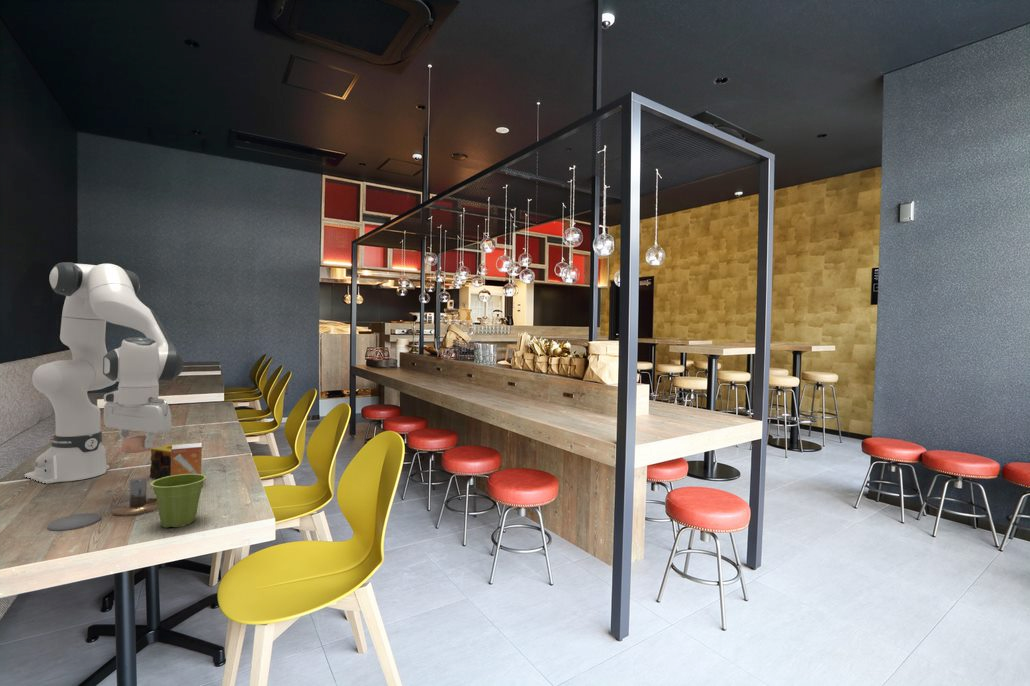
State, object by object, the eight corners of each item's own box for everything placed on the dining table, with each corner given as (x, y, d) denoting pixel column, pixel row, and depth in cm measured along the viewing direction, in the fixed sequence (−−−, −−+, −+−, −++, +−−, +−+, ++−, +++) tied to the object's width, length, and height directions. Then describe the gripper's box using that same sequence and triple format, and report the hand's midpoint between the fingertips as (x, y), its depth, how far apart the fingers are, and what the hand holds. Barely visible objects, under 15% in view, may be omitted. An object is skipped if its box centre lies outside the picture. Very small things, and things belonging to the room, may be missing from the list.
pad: (37, 527, 118) (37, 525, 118) (82, 513, 127) (82, 511, 127) (66, 533, 115) (66, 530, 115) (110, 517, 125) (110, 515, 125)
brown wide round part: (101, 513, 128) (101, 483, 128) (142, 499, 138) (142, 472, 138) (132, 518, 125) (133, 488, 125) (172, 504, 136) (172, 476, 136)
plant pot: (216, 516, 128) (217, 475, 127) (176, 534, 116) (176, 489, 116) (180, 512, 130) (181, 471, 130) (137, 529, 119) (138, 484, 119)
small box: (170, 491, 147) (170, 449, 146) (171, 485, 152) (171, 444, 152) (201, 487, 151) (202, 446, 151) (201, 481, 156) (202, 442, 156)
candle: (170, 482, 155) (170, 451, 155) (148, 478, 158) (148, 448, 158) (199, 473, 165) (200, 445, 164) (178, 470, 168) (179, 442, 168)
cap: (144, 445, 136) (145, 430, 136) (161, 447, 135) (161, 432, 135) (111, 453, 128) (111, 437, 128) (128, 455, 126) (128, 439, 126)
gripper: (178, 398, 132) (177, 447, 132) (123, 392, 137) (121, 440, 137) (156, 401, 125) (154, 452, 126) (98, 394, 131) (97, 444, 131)
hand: (136, 446), depth 131 cm, fingers closed on cap, 6 cm apart
